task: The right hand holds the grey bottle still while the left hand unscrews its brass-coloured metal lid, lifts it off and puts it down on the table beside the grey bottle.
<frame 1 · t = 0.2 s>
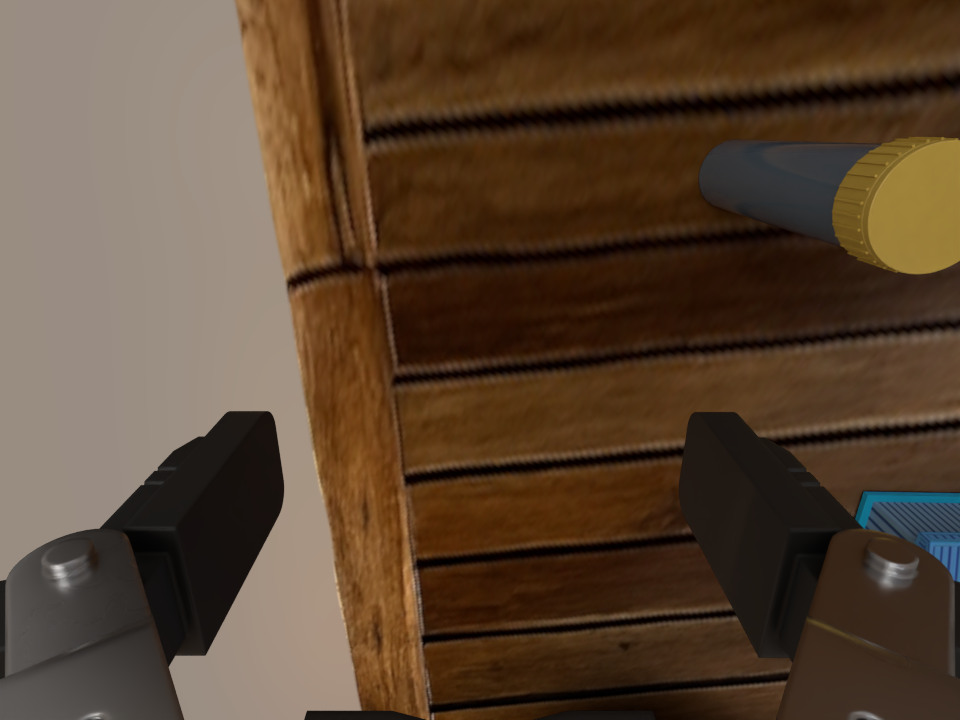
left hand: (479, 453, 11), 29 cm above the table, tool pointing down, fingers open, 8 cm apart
grey bottle: (731, 174, 37), on the table
lid: (928, 208, 21), point 18 cm above the table, screwed on, not yet turned
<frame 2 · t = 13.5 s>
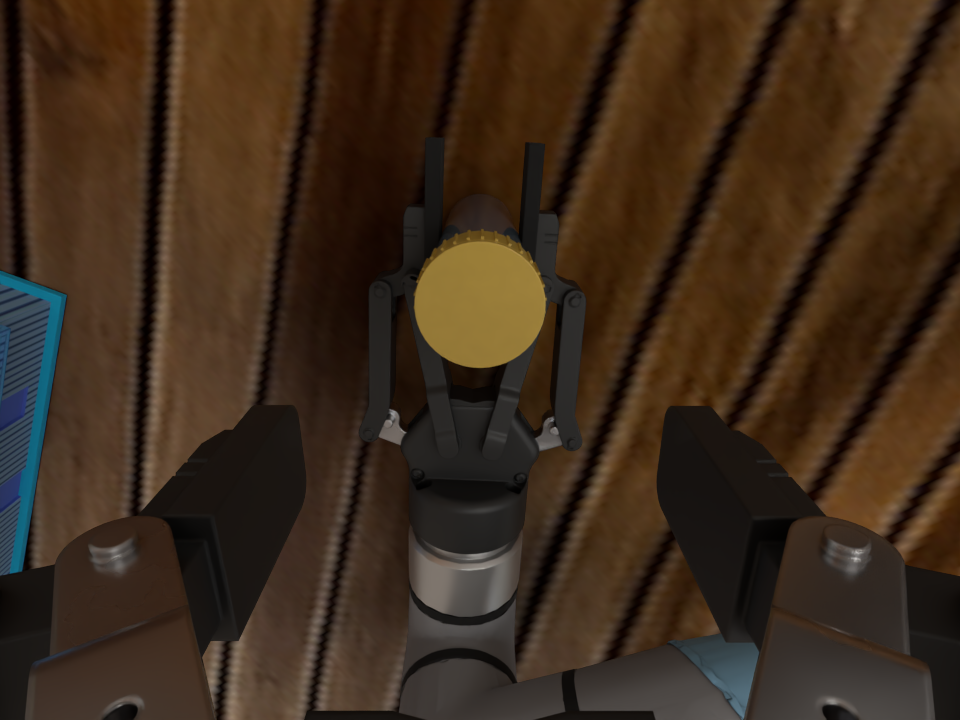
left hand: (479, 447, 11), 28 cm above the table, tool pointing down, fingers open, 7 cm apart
right hand: (485, 141, 29), fingers closed on grey bottle, 4 cm apart
grey bottle: (479, 228, 37), on the table, touching right hand
lid: (479, 304, 21), point 18 cm above the table, screwed on, not yet turned
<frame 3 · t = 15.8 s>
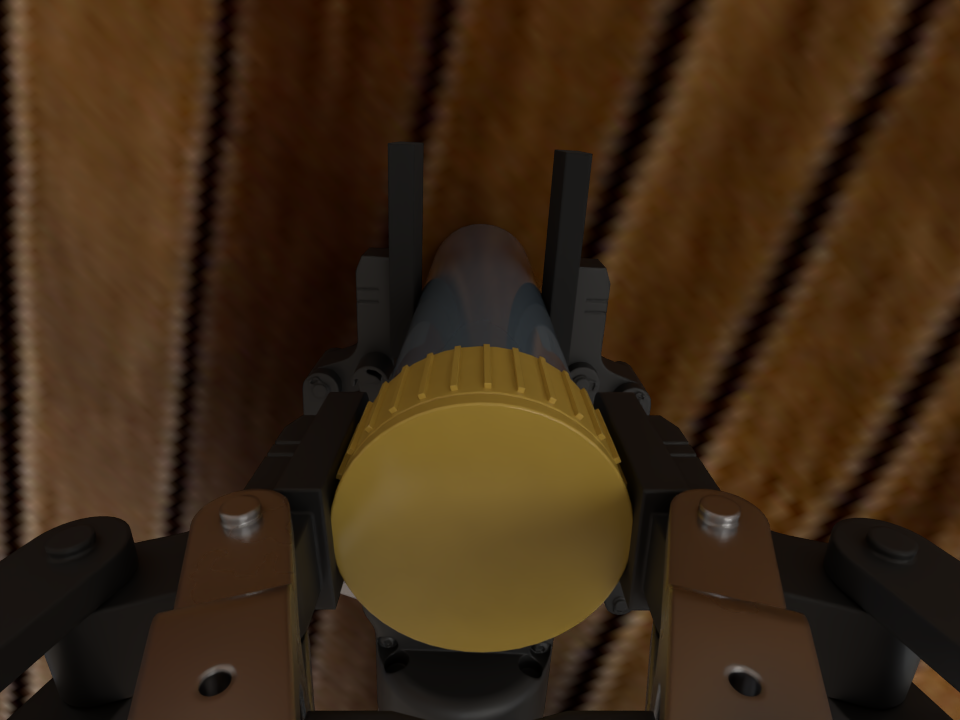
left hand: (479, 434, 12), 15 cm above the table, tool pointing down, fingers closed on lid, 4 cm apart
grey bottle: (480, 273, 26), on the table, touching right hand
lid: (481, 525, 9), point 18 cm above the table, screwed on, not yet turned, touching left hand
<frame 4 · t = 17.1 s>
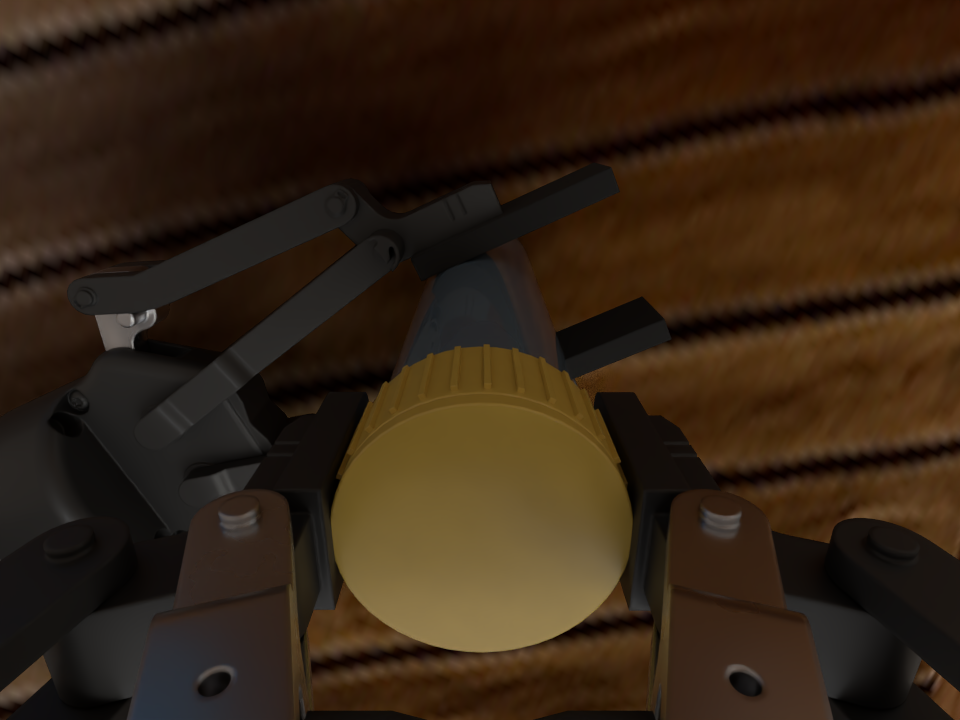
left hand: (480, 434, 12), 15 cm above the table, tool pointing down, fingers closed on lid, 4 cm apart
grey bottle: (481, 272, 26), on the table, touching right hand
lid: (481, 526, 9), point 18 cm above the table, turned 63° so far, risen 0.2 cm, still on its thread, touching left hand
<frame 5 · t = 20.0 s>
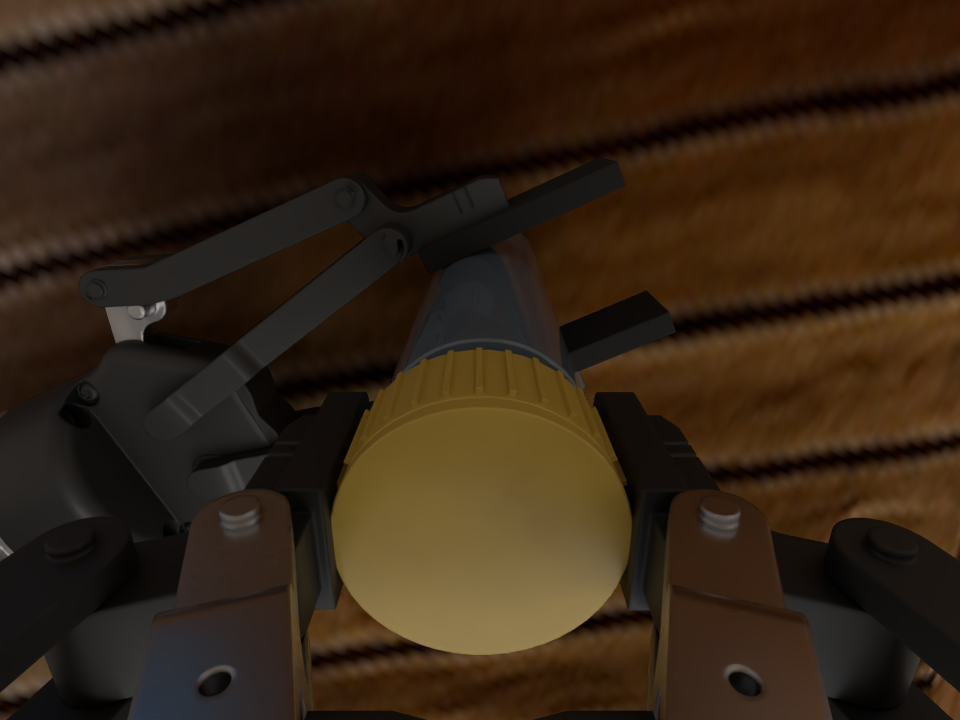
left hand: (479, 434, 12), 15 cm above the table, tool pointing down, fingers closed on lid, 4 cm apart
grey bottle: (487, 267, 26), on the table, touching right hand
lid: (481, 529, 9), point 18 cm above the table, off its thread, touching left hand
when the left hand's fingers open (0 cm above the table, at t = 26.7 s): lid drops 1 cm, point 2 cm above the table.
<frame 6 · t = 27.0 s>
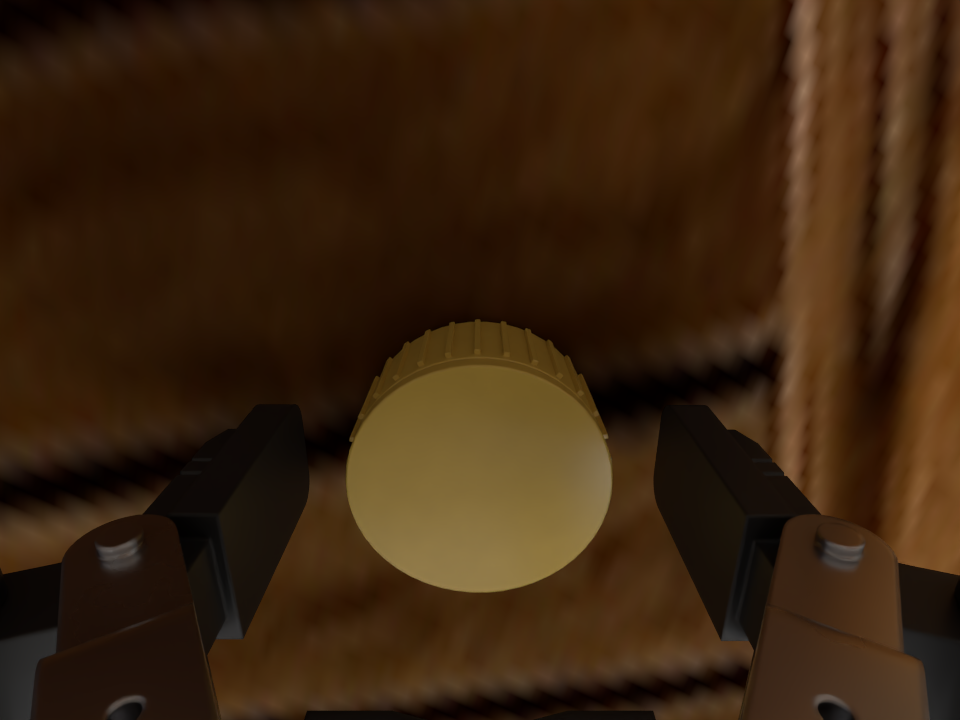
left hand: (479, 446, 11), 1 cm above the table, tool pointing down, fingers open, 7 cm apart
lid: (479, 477, 10), point 2 cm above the table, off its thread
when the right hand's fingers open (6 cm above the table, at t = 27.6 s): grey bottle stays where it is, on the table.
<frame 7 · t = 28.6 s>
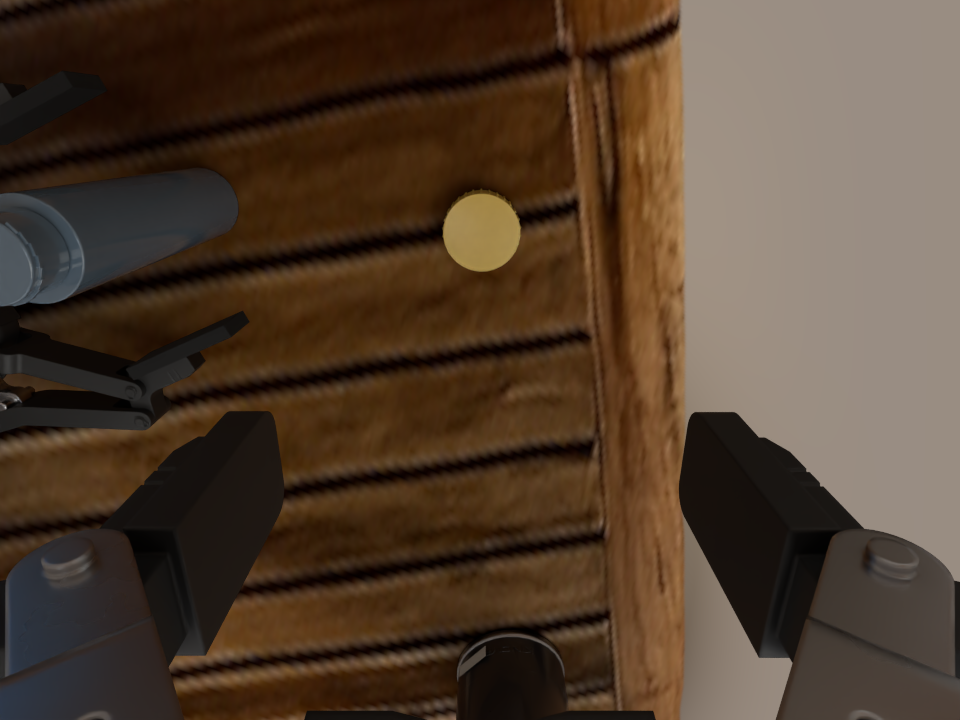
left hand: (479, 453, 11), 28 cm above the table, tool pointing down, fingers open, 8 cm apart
right hand: (168, 210, 31), fingers open, 13 cm apart
grey bottle: (204, 203, 37), on the table
lid: (481, 232, 35), point 2 cm above the table, off its thread
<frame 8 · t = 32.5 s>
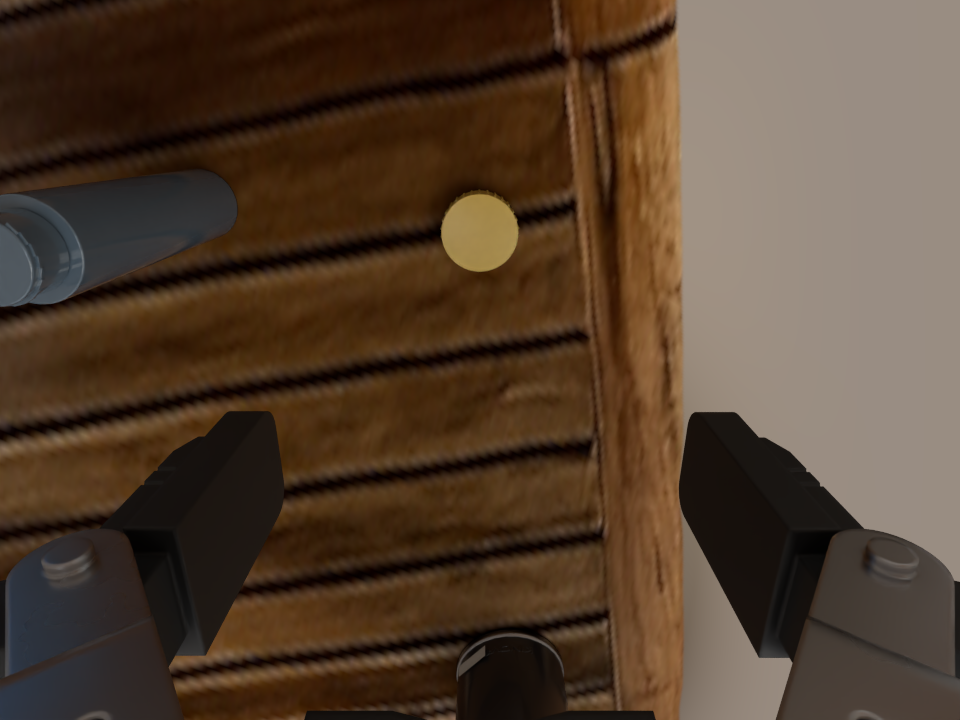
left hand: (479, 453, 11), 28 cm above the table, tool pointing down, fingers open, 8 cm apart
grey bottle: (203, 204, 37), on the table
lid: (479, 232, 35), point 2 cm above the table, off its thread
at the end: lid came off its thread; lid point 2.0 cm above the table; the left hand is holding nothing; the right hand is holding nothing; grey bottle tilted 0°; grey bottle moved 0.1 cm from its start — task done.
